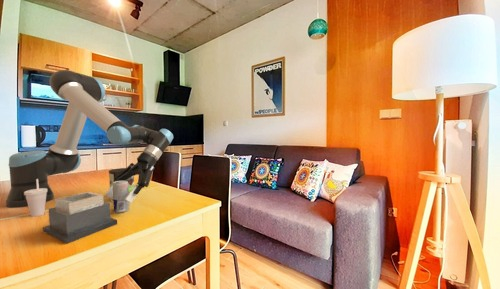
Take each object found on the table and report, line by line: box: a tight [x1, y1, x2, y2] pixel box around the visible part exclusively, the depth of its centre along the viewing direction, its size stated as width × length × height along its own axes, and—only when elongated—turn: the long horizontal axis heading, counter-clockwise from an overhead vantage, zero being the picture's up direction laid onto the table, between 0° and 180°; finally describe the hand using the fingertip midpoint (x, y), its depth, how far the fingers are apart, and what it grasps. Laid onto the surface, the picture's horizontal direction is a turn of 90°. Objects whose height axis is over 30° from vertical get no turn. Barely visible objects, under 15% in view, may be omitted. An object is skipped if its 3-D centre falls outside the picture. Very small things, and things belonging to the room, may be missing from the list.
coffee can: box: [108, 167, 135, 202], centre depth 99 cm, size 10×10×14 cm
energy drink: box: [112, 180, 130, 214], centre depth 83 cm, size 5×5×12 cm
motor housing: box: [42, 191, 118, 245], centre depth 68 cm, size 16×14×10 cm
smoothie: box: [24, 179, 48, 217], centre depth 79 cm, size 6×6×14 cm
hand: (117, 198), depth 81 cm, fingers open, 13 cm apart
